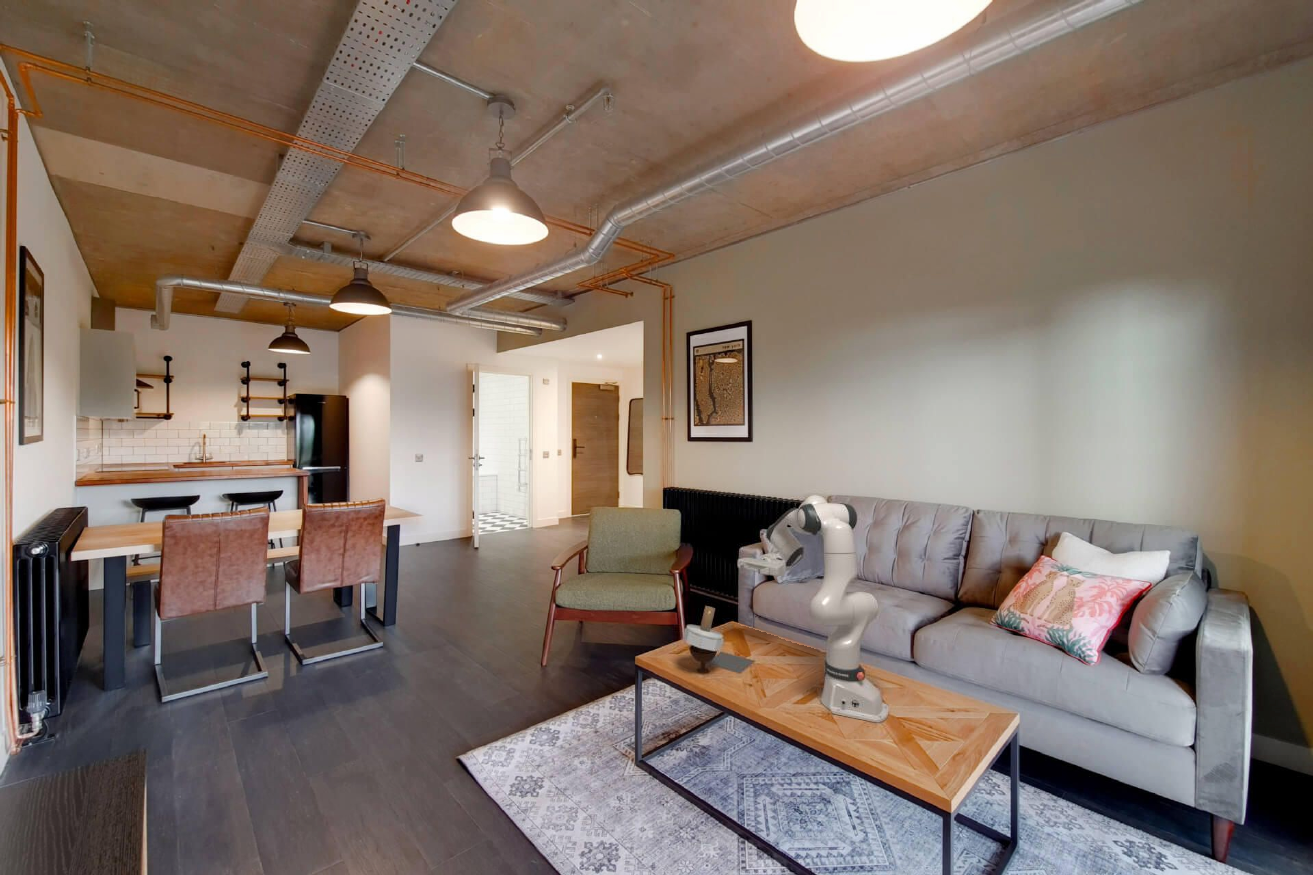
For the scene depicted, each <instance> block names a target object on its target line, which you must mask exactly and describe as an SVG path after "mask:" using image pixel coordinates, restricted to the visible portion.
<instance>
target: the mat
mask: <svg viewBox="0 0 1313 875" xmlns="http://www.w3.org/2000/svg"><path fill="white" fill-rule="evenodd" d="M755 662H756V660H755V659H750V658H746V657H742V656H739V655H735V654H733V653H728V652H723V651H720V652H719V653H716V655H715V657H714V658H713V659H712V660H711V661H709V662H706V664H705V665H708V666H711V667H715V668H719V669H722V670H726V671H729V672H732V673H733V672H734V673H737V674H742V673H743V672H745V670H746V669H748V668H749V667H750V666H751V665H753V664H755Z"/></svg>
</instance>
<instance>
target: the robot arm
mask: <svg viewBox="0 0 1313 875" xmlns="http://www.w3.org/2000/svg"><path fill="white" fill-rule="evenodd" d="M857 522H858V513H857V511H856V508H854V506H852V505H850V504H849V503H843V502H842V503H841V502H840V503H834V502H827V500H826V499H825V498H824V497H823V496H821V495H818V494H812V495H809V496H808V497H807V498H805V499H804V500H803V502H801V504H800V505H799V507H798V508H796V507H793V508H790V509H789V510H786V512H785V513H783V514H782V515H781V516H780V517H779V518H778V519H777V520H776V521H775V522H774V523H773V524H772V525H770V526H769V527H768V528H767V530H766V531H765V532H766V533H765V537H766V539H767V541H769V542H770V543H771V544H772V545H773V547H774V548H775V549H776V550H775V551H773V552H768V553H765V554H762V555H760V556H759V557H758V559H757V558H753V557H741V558H739V559H737V568H738V569H739V570H746V571H747V570H748V571H751V572H756V573H758V574H760V575H765V576H774V577H781V576H783V577H784V576H786V570H787V569H789V568H791V567H793V566H795V565H796V564H797V563H799V562H800V561H801V560H802V558H803V556H804V552H805V550H804V547H803V545H802V544H801V543H800V541H799V540H798V539H797V538H796V536H794V534H793V532H791V530H789V528H788V525H789V526H790V527H791V528H792V529H793V530H794V531H796V532H797V533H799V534H801V535H813V536H817V534H820V535H821V537H822V539H823V559H824V560H823V562H824V571H823V572H824V575H823V580H822V582H821V583H822V584H821V586H820V588H819V590H818V592H817V593H816V594H815V596H813V597H812V598H811V600H810V602H809V606H808V610H809V611H808V612H809V616H810V618H811V619H812V620H813V622H814V623H815V624H816V625H818V626H823V627H836V629H835V630H834V631H833V632H832V633H831V634H830V635H829V636H828V637H827V639H826V652H825V653H826V654H825V656H826V658H825V660H824V670H823V672H824V673H823V674H824V684H823V689H822V693H821V696H820V699H819V700H820V703H821V704H822V705H823V706H824V707H826V708H827V709H828V710H829V712H830V713H831V714H834V715H839V716H843V717H848V718H853V719H858V720H862V721H867V722H872V723H878V724H879V723H881V722H883V721H885V720H886V719H887V718H888V716H889V715H890V708H889V706H888V704H887V703H885V702H883V698H882V694H881V691H880V690H879V689H878V688H877V687H876V686H875V685H874V684H873V683H872V682H871V681H869V679H868V678H866V667H862V665H860V658H861V656H860V654H861V644H862V640H863V638H864V635H865V632H866V631H867V629H868V627H869V626H870V624H872V622H873V621H874V620H875V619H877V617H878V616H879V615H878V614H879V604H878V601H877V599H876V598H875V596H874V595H873V594H872V593H870V592H864V591H847V590H848V587H849V585H850V584H851V582H852V581H854V580H855V579H856V578H857V576H858V572H859V571H858V570H859V569H858V559H857V548H856V546H857V545H856V541H855V536H854V533H853V530H854V529H855V528H856V526H857V524H858V523H857Z"/></svg>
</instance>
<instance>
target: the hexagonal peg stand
mask: <svg viewBox="0 0 1313 875" xmlns="http://www.w3.org/2000/svg"><path fill="white" fill-rule="evenodd" d="M715 611H716V608H715V607H712V606H710V605H709V606H708V605H705V606H704V610H703V613H702V614H703V615H702V619H701V622H700V625H696V624H686V628H684V630H683V634H682V639H681V640H683V641H684V642H685V643H686V644H688V645H690V646H691V645H693V646H696V647H699V648H702V649H707V650H711V651H717V652H719V651H720V652H721V651H722V649H723V645H724V641H725V640H724V635H723V634H722V633H721V632H719V631H717V630H715V629H712V625H713V619H714V616H715Z"/></svg>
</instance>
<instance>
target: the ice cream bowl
mask: <svg viewBox="0 0 1313 875" xmlns="http://www.w3.org/2000/svg"><path fill="white" fill-rule="evenodd" d="M689 653H690V655H691V657H692V658H693V659H694V660H695V661H697V662H699V663H700V667H699V668H697V669H696V671H695V672H697V673H698V674H700V675H706V674H709V673H710V672H711V671H710V670H709V669H708V668H706V665H707V664H706V662H709V661H711V660H712V659H713V658H714V657H715V656H716V655H717V654H718V651H711V650H707V649H702V648H699V647H696V646H693V645H691V644H690V646H689Z"/></svg>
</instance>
